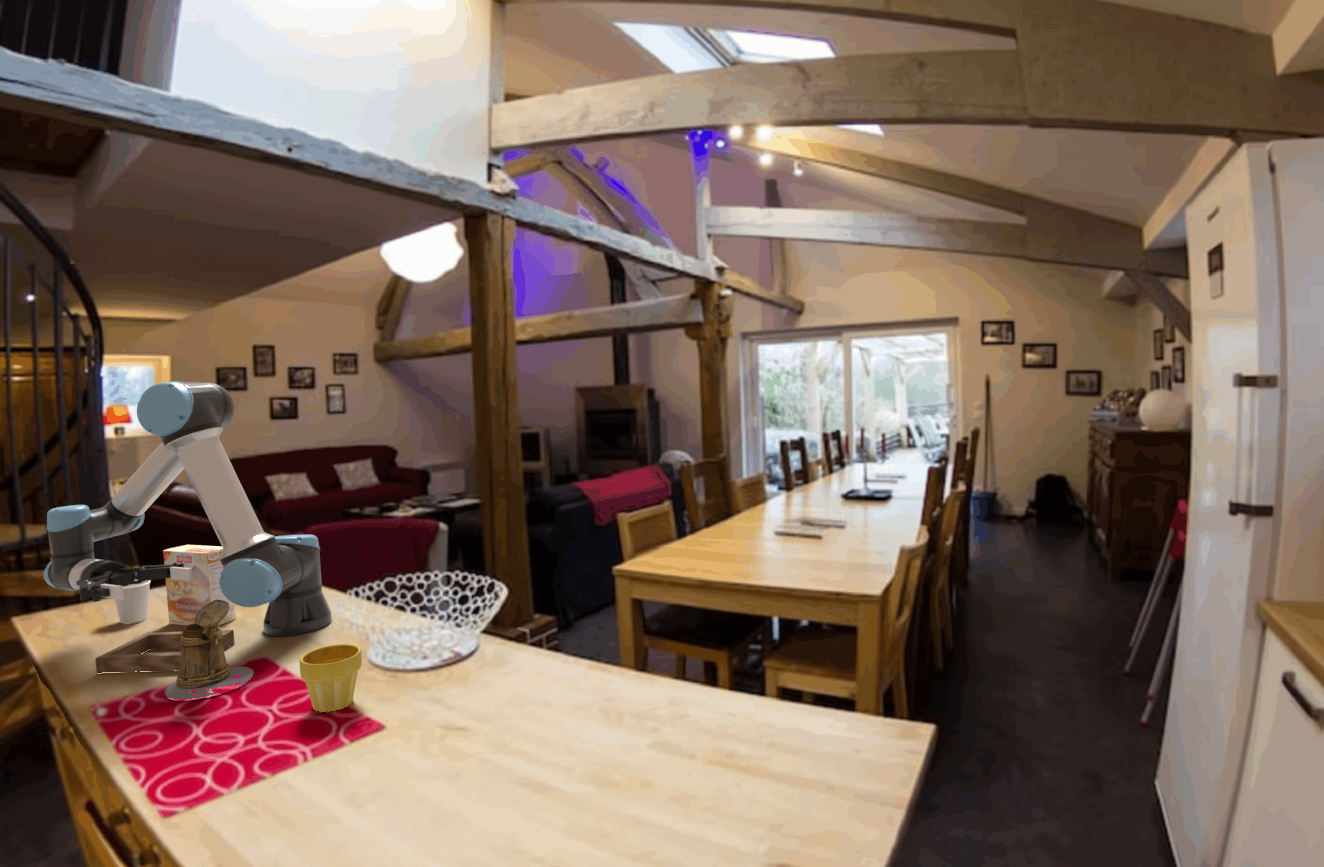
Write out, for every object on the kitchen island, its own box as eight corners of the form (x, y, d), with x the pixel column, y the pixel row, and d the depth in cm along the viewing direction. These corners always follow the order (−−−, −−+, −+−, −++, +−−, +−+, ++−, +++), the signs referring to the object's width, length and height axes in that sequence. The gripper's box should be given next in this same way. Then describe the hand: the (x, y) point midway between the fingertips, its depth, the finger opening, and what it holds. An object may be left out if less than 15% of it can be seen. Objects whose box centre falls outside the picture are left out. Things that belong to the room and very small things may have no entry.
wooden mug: (197, 698, 130) (189, 606, 129) (169, 682, 138) (162, 595, 136) (247, 681, 137) (240, 593, 136) (218, 667, 145) (211, 584, 144)
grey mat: (269, 667, 145) (268, 665, 145) (224, 700, 130) (224, 697, 130) (198, 670, 145) (198, 667, 145) (145, 703, 130) (145, 700, 130)
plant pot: (374, 692, 131) (371, 642, 131) (345, 718, 121) (341, 664, 120) (324, 691, 132) (320, 642, 132) (290, 717, 122) (286, 664, 121)
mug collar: (234, 644, 160) (233, 629, 160) (191, 670, 145) (189, 654, 145) (148, 647, 160) (147, 632, 159) (96, 674, 145) (95, 658, 144)
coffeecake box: (167, 624, 176) (161, 550, 175) (193, 615, 183) (188, 543, 181) (211, 628, 172) (205, 552, 170) (237, 619, 178) (231, 545, 177)
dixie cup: (122, 617, 183) (119, 581, 182) (159, 613, 185) (155, 577, 184) (107, 627, 175) (104, 589, 174) (146, 623, 177) (142, 585, 177)
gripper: (160, 577, 165) (217, 584, 156) (32, 610, 142) (91, 620, 133) (157, 547, 164) (214, 551, 156) (28, 575, 141) (87, 582, 133)
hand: (157, 583), depth 145 cm, fingers open, 13 cm apart
